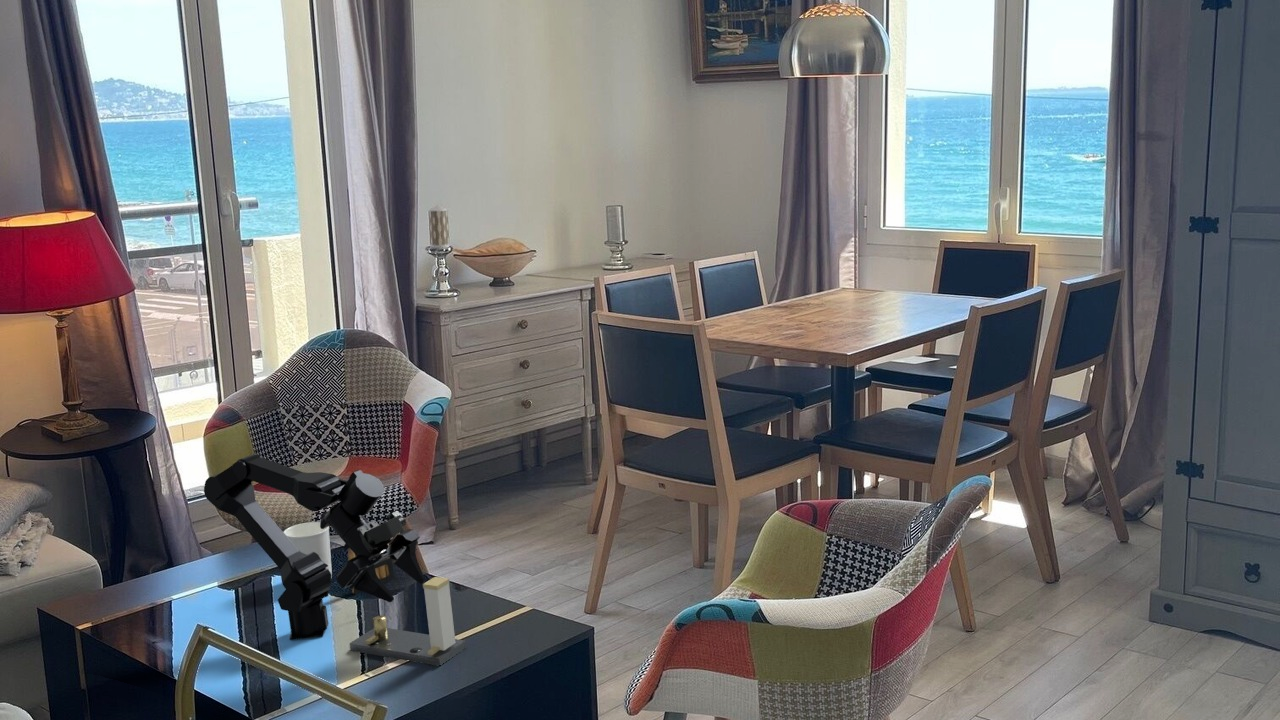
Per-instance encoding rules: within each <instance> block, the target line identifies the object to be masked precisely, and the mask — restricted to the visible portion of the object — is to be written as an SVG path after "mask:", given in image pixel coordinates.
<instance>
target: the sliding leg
mask: <svg viewBox="0 0 1280 720" xmlns="http://www.w3.org/2000/svg"><path fill="white" fill-rule="evenodd" d="M450 583H451V582H450V578H447V577H440V576H434V577H432V578H431V579H429V580H428V581H426V582H423V583H422V589H423V590H424V591H423V592H424V600H425V601H424V602H425V606H426V616H427V625H428V632H429V633H428V635H430V644H431V648H432V649H430V650H429V651H428V654H429V655H433V654H435V653H436V652H437V651H439V650H443V651H444V650H446V649H447V648H449V647H450V646H452V645H453V644H454V643H455V639H456V633H455V627H454V618H453V617H454V616H453V609H452V599H451V590H450Z"/></svg>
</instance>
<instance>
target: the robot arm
mask: <svg viewBox="0 0 1280 720" xmlns="http://www.w3.org/2000/svg"><path fill="white" fill-rule="evenodd" d="M253 482H255V483H256V484H257V483H258V484H260V485H263V486H266V487H269V488H271V489H274V490H277V491H280V492H283V493H284V494H288V495H290V496H292V497H293V498H294V500H295V501H296V503H297V504H298V505H300V506H302V507H303V508H305V509H307V510H309V511H310V512H315V513H316V512H319V511H321V510H323V509H326V508H328V507H330V506H331V507H330V509H329V510H328V511H325V512H323V513H321V514H320V521H319V522H320V528H321V529H324V528H326V527H328V526H329V527H331V528H332V530H333V531H334V532H335V533H336V535H338V537H339V538H341V540H342V541H343V542H344V543H345V544H344V545H343V546H342V548H343V549H344V551H345V552H348V550H349V549H351V550H352V551H353V552H354V554H355V555H356V557H354V558H352V559H350V560H349V561H348V560H347V561H346V563H345V564H344V565H343V566H342V568H341V569H340V570H339V572H337V574H336V579H337V580H336V581H337V583H338V585H339V586H341V588H342V590H346V589H348V588H349V590H350V589H351V590H353V589H356V590H359V591H362V592H361V593H366V594H368V595H371V596H373V597H376V598H377V599H378V598H379V599H380V600H384V601H386V602H388V603H392V602H393V601H395V598H394V596H393V595H392V593H391V592H390V590H389V589H388V588H387V586H386V585H385V583H382V581H381V580H380V579H379V578H378V577H377V575H376V571H375V566H374V565H375V564H377V563H379V562H381V561H383V560H384V559H386V558H388V557H390V558H391V559H392V560H394V561H395V562H393V565H395V566H397V568H399V569H400V570H402V571H403V572H404V573H406V574H407V575H408V576H409V577H410V578H411V579H413V580H414V581H416V582H418V583H419V584H420V585H423V584H424V583H425V581H426V579H425V577H424V573H423V571H422V569H421V567H420V564H419V561H418V558H417V555H416V554H417V553H416V551H417V549H416V548H417V546H418V545H419V541H418V540H419V539H420V538H421V536H420V535H419V534H418V532H416V530H415V529H414V528H413V529H411V528H408V529H406V530H405V529H404V526H406V525H407V521H406V518H405V517H404V515H403V514H401V512H400V511H398V510H395V511H393V512H391V513H390V514H387V515H386V521H385V522H382V523H381V524H379V523H378V522H377V521H376V520H374V519H373V520H371V521H368V519H367V518H366V517H365V516H366V515H367V514H369V513H370V512H371V510H372V509H373V507H374V506H375V504H377V502H378V501H379V500H380V498H381V497H382V496H383V494H384V492H385V487H384V484H383V482H382V481H381V480H380V479H379V478H378V477H376V476H374V475H372V474H370V473H364V472H363V471H362V470H361V469H357V470H355V471H353V472H351V474H350V475H349V477H348V479H347V480H345V479H341V478H340V477H338V475H336V474H334V473H328V472H320V471H319V472H318V471H317V472H304V471H301V470H298V469H294V468H292V467H289V466H287V465H284V464H281V463H278V462H275V461H272V460H269V459H268V458H267V459H266V458H265V457H263V456H261V455H260V454H256V453H252V454H251V455H247V456H245V457H241V458H239V459H237V460H236V462H234V463H233V464H231V465H230V466H229V467H227V468H225V469H224V470H223V471H221V472H220V473H218V474H215V475H212V476H209V477H208V478H207V479H206V480H205V482H204V486H203V494H204V496H205V498H206V499H207V501H209V503H211V504H212V505H213V506H214V507H215V508H216V509H217V510H219V511H220V512H223V513H225V514H228V515H230V516H232V517H233V516H234V517H235V518H236V520H238V522H239V523H240V524H241V526H243V527H244V529H245V530H246V531H247V532H248V533H249V534H250V536H251V537H252V538H253V540H255V542H256V543H257V544H258V545H259V546H260V548H262V550H263V551H264V552H265V553H266V554H267V556H268V557H269V558H270V559H271V560H272V561H273V563H274V564H275V565H276V566H277V567H278V568H279V570H280V578H281V584H282V586H283V587H284V591H283V592H282V593H281V595H280V596H279V598H278V599H277V603H278V605H279V607H280V610H282V611H287V612H288V620H289V627H290V635H289V637H288V638H289V640H290V641H293V640H303V639H312V638H320V637H323V636H324V634H325V633H326V631H327V629H328V626H329V618H328V617H329V616H328V610H327V609H328V608H327V606H326V604H325V605H324V602H323V599H324V598H327V597H328V596H329V593H330V588H331V586H332V578H331V576H333V574H332V575H331V573H330V571H329V570H328V568H327V567H328V565H327V564H325V563H324V562H323V561H322V560H321V559H320V557H319V556H318V554H317V553H315V552H312V553H310V554H308V555H307V554H304V553H301V552H300V551H299V550H298V549H297V548H296V546H295V545H294V544H293V543H292V542H291V541H290V539H289V538H288V537H287V536H286V535H285V534H284V530H282V529H281V528H280V526H279V525H278V524H277V523H276V522H275V521H274V519H273V518H272V517H271V516H270V515H269V514H268V513H267V512H266V510H265V509H264V508H263V507H262V506H261V505H260V504H259V502H258V501H257V499H256V494H255V493H256V492H255V487H254V485H253ZM388 543H389V546H388ZM382 554H384V555H382ZM381 555H382V556H381ZM374 559H375V560H374Z"/></svg>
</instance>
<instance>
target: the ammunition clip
mask: <svg viewBox="0 0 1280 720" xmlns="http://www.w3.org/2000/svg"><path fill="white" fill-rule="evenodd" d="M389 545H390V542H389V543H388V546H389ZM347 552H348V554H347V555H348V556H347V557H348V558H347V561H349V560H350V559H352V558H354V557H356V555H355V554H354V552H353V551H352V550H351V549H349V550H347ZM382 555H384V554H382ZM382 555H381V556H382ZM374 560H375V559H374ZM374 566H375V571H376V575H377V577H378V578H379V579H380V580H381V581H382V583H383V584H386V583H388V582H391V581H393V580H395V579H396V574H395V568H394V567H395V566H394V561H393V559H391V558H390V557H388V558H386V559H384V560H383V561H381V562H379V563H377V564H375V565H374ZM349 593H350V594H352V595H359V594H361V593H363V592H362V591H359V590H356V589H353V590H351V589H350V588H349Z"/></svg>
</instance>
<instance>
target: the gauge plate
mask: <svg viewBox="0 0 1280 720" xmlns="http://www.w3.org/2000/svg"><path fill="white" fill-rule="evenodd" d="M372 623H373V628H372V629H370V630H368V631H367V632H364V634H362V635H360V636H359V637H357V638H356V639H354V640H352V641H351V642H349V649H350V651H351V652H357V653H363V654H368V655H373V656H380V657H384V658H391V659H396V660H402V661H407V660H409V661H408V662H412V661H416V662H415V663H418V662H420V663H419V664H424V663H425V664H424V665H429V664H432V665H431V666H435V665H438V666H437V667H440V666H439V665H442V664H443V663H444V664H445V662H446V661H447V662H448V660H449V659H450V660H451V659H453V658H454V657H456V656H457V655H458V654H459V652H460V653H461V652H462V651H464V650H465V649H466V647H467V646H466V640H463V639H458V638H457V639H456V638H455V643H454V644H453V645H452V646H450V647H449V648H447V649H446V650H444V651H443V650H439V651H437V652H436V653H435V654H433V655H429V654H428V651H429V650H430V649H432V648H431V644H430V635H429V634H427V633H421V632H414V631H410V630H409V631H408V630H402V629H401V630H400V629H395V628H389V627H388V623H387V616H385V615H377V616H374V617H373V618H372ZM464 648H465V649H464ZM463 649H464V650H463ZM456 654H457V655H456ZM452 657H453V658H452ZM450 660H449V661H450ZM421 662H422V663H421ZM447 662H446V663H447ZM426 663H427V664H426ZM444 664H443V665H444ZM443 665H442V666H443Z"/></svg>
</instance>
